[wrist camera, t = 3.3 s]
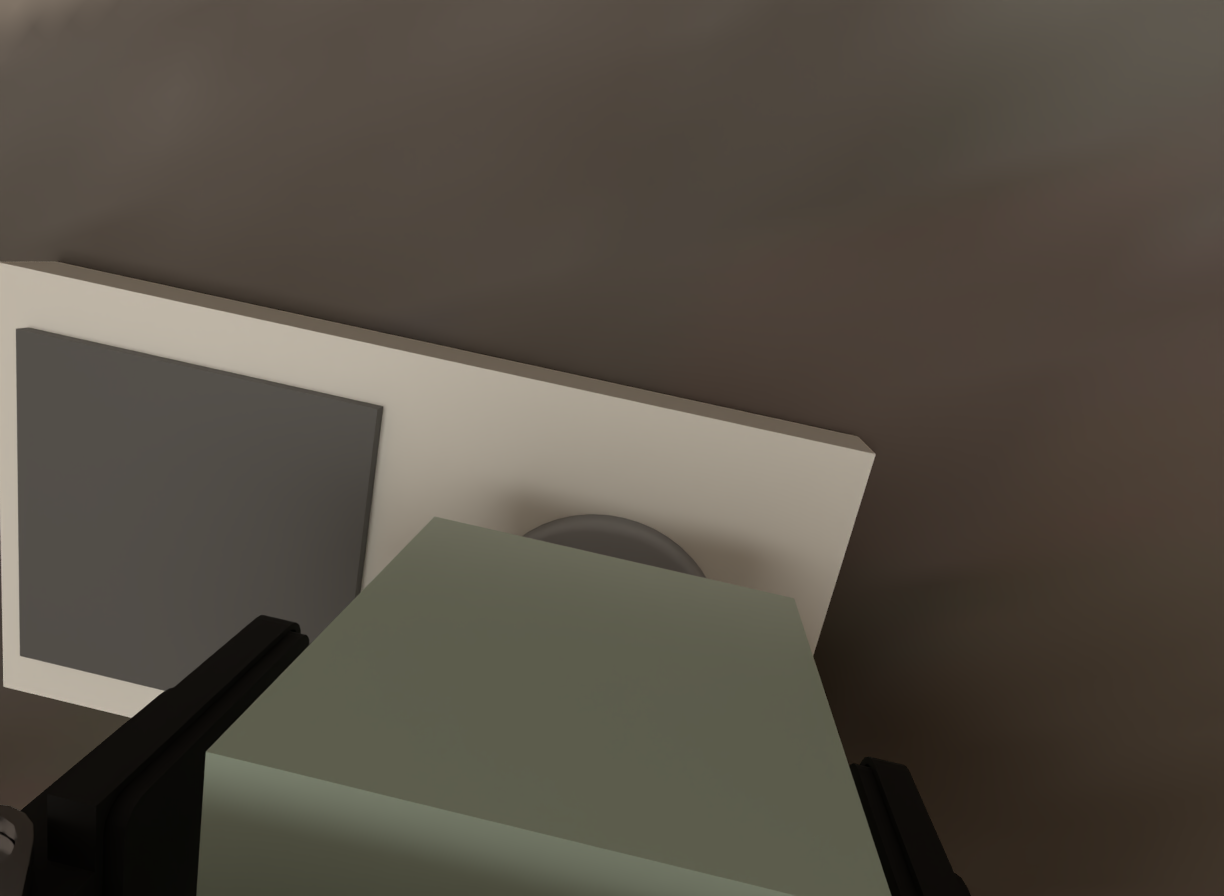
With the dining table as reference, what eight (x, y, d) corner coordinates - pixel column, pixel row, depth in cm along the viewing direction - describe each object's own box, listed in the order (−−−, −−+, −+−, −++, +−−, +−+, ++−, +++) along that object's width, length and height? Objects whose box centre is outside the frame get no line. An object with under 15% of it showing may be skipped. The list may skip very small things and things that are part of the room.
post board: (857, 436, 16) (1106, 686, 6) (742, 819, 18) (802, 1384, 9) (56, 261, 16) (-748, 263, 7) (55, 653, 19) (-534, 1022, 10)
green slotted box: (794, 598, 12) (906, 942, 6) (707, 891, 13) (726, 1399, 7) (434, 516, 12) (190, 766, 6) (390, 813, 14) (162, 1245, 8)
